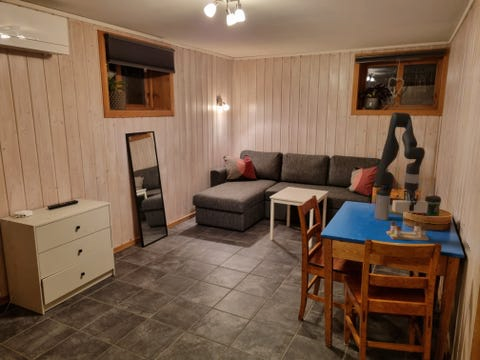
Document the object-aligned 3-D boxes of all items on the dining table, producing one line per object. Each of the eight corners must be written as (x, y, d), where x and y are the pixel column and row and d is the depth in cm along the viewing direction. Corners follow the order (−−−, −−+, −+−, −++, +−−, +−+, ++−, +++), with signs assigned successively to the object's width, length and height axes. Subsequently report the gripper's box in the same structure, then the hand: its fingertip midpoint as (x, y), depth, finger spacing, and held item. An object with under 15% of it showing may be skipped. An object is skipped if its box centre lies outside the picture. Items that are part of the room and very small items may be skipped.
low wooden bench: (386, 233, 210) (387, 220, 209) (419, 234, 209) (421, 221, 208) (393, 239, 199) (394, 226, 198) (428, 240, 198) (429, 227, 197)
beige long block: (392, 209, 205) (392, 200, 204) (423, 210, 203) (424, 200, 202) (394, 212, 200) (395, 202, 199) (427, 212, 198) (428, 202, 197)
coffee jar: (430, 225, 227) (433, 197, 223) (420, 221, 234) (422, 195, 231) (440, 223, 230) (443, 196, 227) (430, 220, 237) (433, 194, 234)
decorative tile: (408, 217, 245) (409, 212, 244) (379, 212, 257) (380, 208, 257) (415, 212, 259) (415, 207, 258) (387, 207, 272) (387, 203, 271)
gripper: (400, 179, 205) (398, 206, 208) (410, 183, 191) (407, 212, 194) (413, 179, 205) (410, 206, 208) (424, 183, 191) (421, 213, 194)
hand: (409, 209), depth 201 cm, fingers closed on beige long block, 5 cm apart
